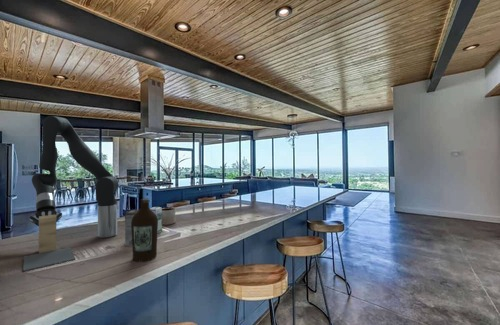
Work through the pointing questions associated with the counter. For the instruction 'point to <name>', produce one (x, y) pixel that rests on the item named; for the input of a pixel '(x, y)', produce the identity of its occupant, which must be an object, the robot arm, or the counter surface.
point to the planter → (168, 216)
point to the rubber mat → (47, 259)
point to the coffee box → (129, 227)
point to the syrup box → (159, 215)
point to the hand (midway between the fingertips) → (47, 231)
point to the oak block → (47, 233)
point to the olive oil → (144, 233)
